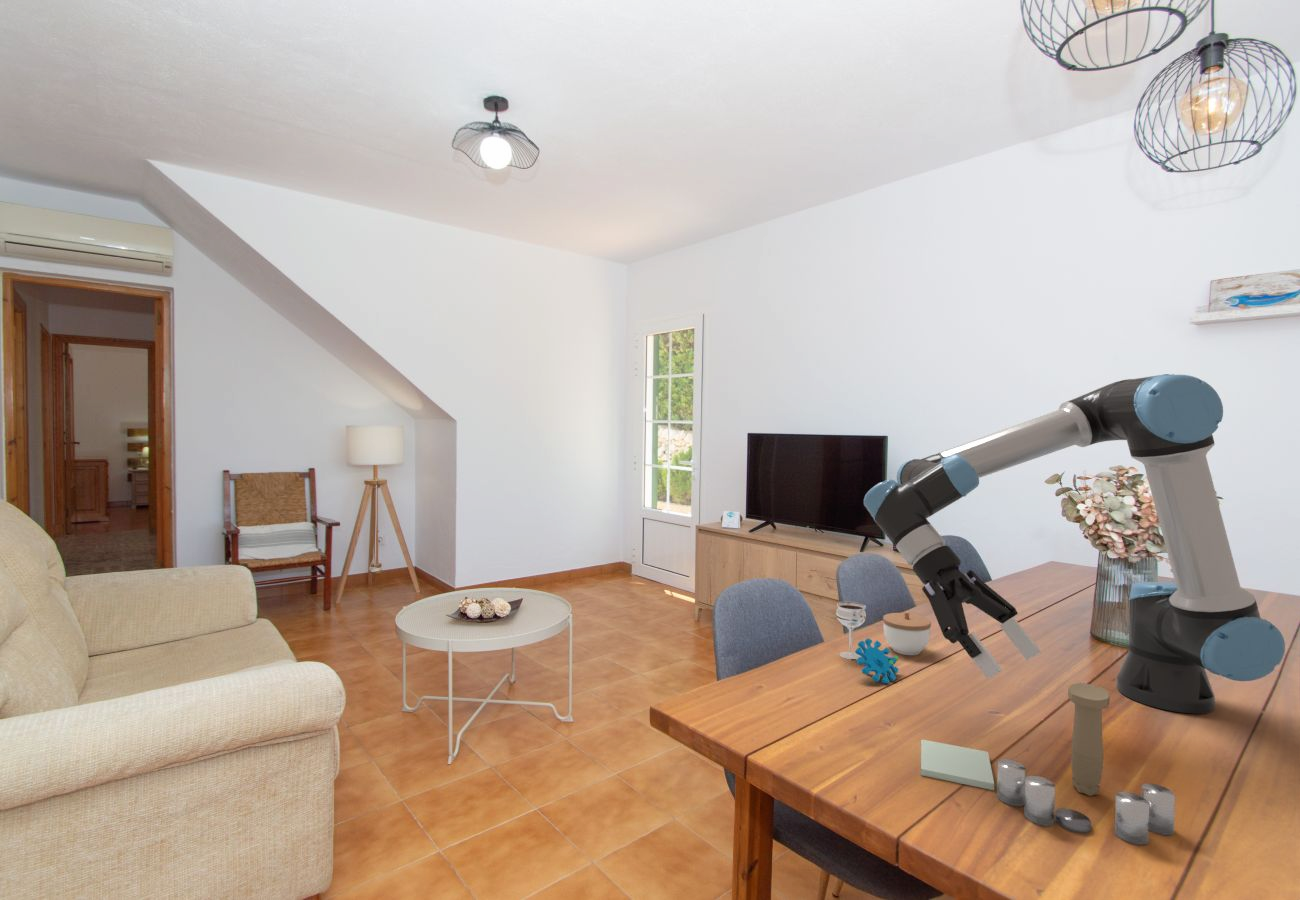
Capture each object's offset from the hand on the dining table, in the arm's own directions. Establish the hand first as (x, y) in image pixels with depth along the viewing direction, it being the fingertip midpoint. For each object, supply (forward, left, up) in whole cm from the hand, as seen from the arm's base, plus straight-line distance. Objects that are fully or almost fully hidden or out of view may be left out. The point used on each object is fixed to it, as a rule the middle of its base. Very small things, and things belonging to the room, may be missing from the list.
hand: (1015, 665), depth 100 cm
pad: (+9, +5, -16) cm, 19 cm away
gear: (+22, -27, -16) cm, 39 cm away
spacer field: (-7, +13, -16) cm, 21 cm away
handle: (-9, +5, -16) cm, 19 cm away
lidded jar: (+17, -47, -16) cm, 53 cm away
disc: (-5, +15, -16) cm, 23 cm away
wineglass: (+29, -38, -16) cm, 51 cm away
